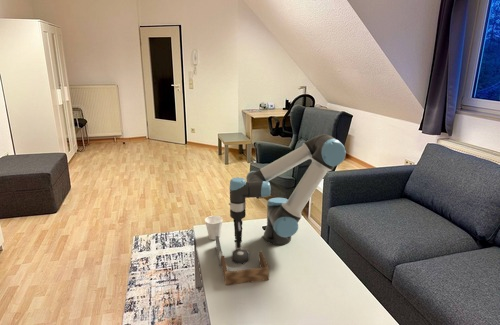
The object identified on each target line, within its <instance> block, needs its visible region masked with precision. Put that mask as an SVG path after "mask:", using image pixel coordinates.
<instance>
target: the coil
mask: <svg viewBox="0 0 500 325" xmlns="http://www.w3.org/2000/svg"><path fill="white" fill-rule="evenodd" d="M231 254H232V255H231V256H232V258H231V260H232V262H233V263H234V264H236V265H244V264H246V263H248V262H249V251H248V250H246V249H243V248H241V249H237V250H233V251H232V253H231Z"/></svg>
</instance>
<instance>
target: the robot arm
mask: <svg viewBox="0 0 500 325" xmlns="http://www.w3.org/2000/svg"><path fill="white" fill-rule="evenodd" d="M346 152H347V151H346V147H345V146H344V144H343V143H342V142H341V141H340V140H338V139H336V138H335V137H333V136H332V135H329V134H326V133H325V134H324V133H323V134H318V135H315V136H314V137H311V138H309V139H307V141H304V142H303V143H302V145H301V146H299V147H298V148H296V149H294V150H292V151H290V152H289V153H287V154H285V155H283V156H281V157H280V158H278V159H276V160H273V162H270V163H269V164H267V165H265V166H263V167H262V168H260V169H257V170H251V171H249V172H248V173H247V175H246V179H245V177H238V176H237V177H236V176H235V177H233V178H231V179H230V181H229V203H228V206H229V209H230V210H229V212H230V213H229V216H230V218H231V219H233V226H234V243H235V244H234V245H235V246H234V248H235V250H237V249H242V242H243V240H242V239H243V238H242V237H243V220H242V219H244V218H246V208H247V207H246V204H247V202H246V201H247V200H246V199H247V198H248V199H249V198H268V197H270V196H271V193H272V192H271V190H272V189H271V188H272V187H271V183H270V181H271V180H273V179H275V178H277V177H278V176H280V175H282V174H284V173H286V172H288V171H290V170H291V169H293V168H295V167H297V166H298V165H301V164H302V163H304V162H306V161H308V160H311V163H310V164H309V165H308V168H307V169H306V170H305V172H304V174H303V176H302V177H301V179H300V181H299V182H298V184H297V185H296V187H295V188H294V190H293V192H292V193H291V194H290V196H289V198H288V199H287V198H286V197H285V198H284V197H272V198H269V199H268V200H267V202H266V203H267V204H266V226H265V230H264V232H263V239H264V241H265V243H268V244H270V245H275V246H283V245H287V244H288V243H291V241H292V237H293V236H294V235H296V233H297V232H298V230H299V222H300V220H301V218H302V217H303V215H302V211H303V210H304V208H305V207H306V205H307V203H308V202H309V201H310V199H311V197H312V196H313V194H314V192H315V191H316V190H317V188H318V187H319V185H320V184H321V182H322V181H323V179H324V177H325V176H326V174H327V173H328V172H330V171H331V172H332V171H333V170H334V168H335V167H336V166H339V165H340V164H342V163H343V162H344V160H345V159H346V154H347V153H346ZM235 250H234V251H235Z"/></svg>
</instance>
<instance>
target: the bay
mask: <svg viewBox="0 0 500 325" xmlns="http://www.w3.org/2000/svg"><path fill="white" fill-rule="evenodd" d="M258 253H259V254H258V261H259V262H258V263H259V265H260V266H259V267H255V268H247V269H237V270H231V271H228V267H227V262H226V257H225V255H223V256H222V266H221V270H222V274H223V279H224V283H225V286H231V285H232V286H233V285H240V284H247V283H253V282H254V283H255V282H262V281H269V280H270V279H269V278H270V276H269V274H270V268H269V266H268V263H267V261H266V258H265V256H264V254H263V251H259V252H258Z"/></svg>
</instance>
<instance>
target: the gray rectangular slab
mask: <svg viewBox="0 0 500 325" xmlns="http://www.w3.org/2000/svg"><path fill="white" fill-rule="evenodd" d="M215 248H216V252H217V258H218V263H219V266H220V267H222V256H224V254H223V251H222V247H221V242H220V238H219V236H216V240H215Z"/></svg>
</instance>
